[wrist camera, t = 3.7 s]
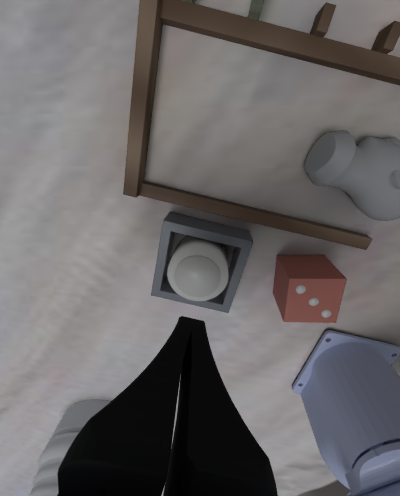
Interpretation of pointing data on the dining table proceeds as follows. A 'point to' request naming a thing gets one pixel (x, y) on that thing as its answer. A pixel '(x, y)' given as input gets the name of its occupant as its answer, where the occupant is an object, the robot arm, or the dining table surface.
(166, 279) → the grey square tray
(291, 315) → the die
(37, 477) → the honey pot
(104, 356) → the dining table surface
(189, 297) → the dome button
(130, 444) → the robot arm
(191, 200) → the brown wooden frame
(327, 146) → the smooth white sculpture
